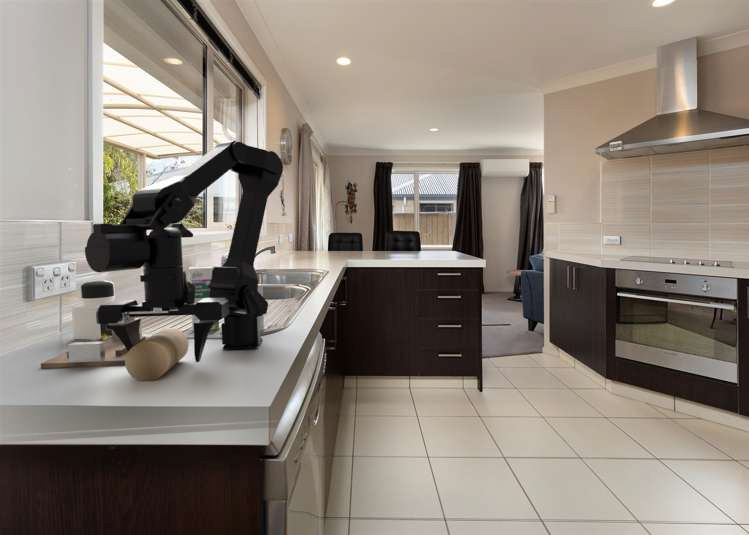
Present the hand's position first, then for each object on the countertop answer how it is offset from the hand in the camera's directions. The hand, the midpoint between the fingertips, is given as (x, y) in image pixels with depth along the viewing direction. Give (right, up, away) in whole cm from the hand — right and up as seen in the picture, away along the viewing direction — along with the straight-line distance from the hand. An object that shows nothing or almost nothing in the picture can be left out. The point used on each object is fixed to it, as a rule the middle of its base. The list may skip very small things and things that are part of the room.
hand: (168, 362), depth 71 cm
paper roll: (0, -1, 0) cm, 1 cm away
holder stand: (-16, -1, +11) cm, 19 cm away
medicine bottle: (-26, 0, +25) cm, 36 cm away
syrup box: (-6, +1, +31) cm, 31 cm away
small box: (+4, +1, +30) cm, 30 cm away
